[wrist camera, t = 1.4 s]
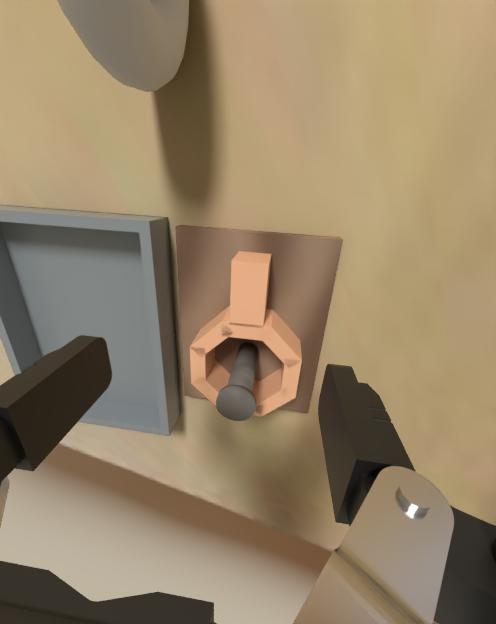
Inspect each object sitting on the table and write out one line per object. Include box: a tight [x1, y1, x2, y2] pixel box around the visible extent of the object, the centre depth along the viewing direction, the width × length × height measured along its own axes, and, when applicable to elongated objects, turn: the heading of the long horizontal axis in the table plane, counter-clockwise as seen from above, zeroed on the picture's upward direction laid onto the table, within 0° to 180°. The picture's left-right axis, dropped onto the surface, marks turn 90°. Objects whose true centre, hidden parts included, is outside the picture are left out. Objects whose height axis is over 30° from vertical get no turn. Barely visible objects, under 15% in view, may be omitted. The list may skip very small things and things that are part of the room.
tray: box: [0, 205, 180, 436], centre depth 24 cm, size 15×20×3 cm
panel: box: [176, 225, 343, 421], centre depth 20 cm, size 12×16×8 cm
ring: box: [190, 251, 302, 417], centre depth 21 cm, size 8×13×3 cm, turn 177°
